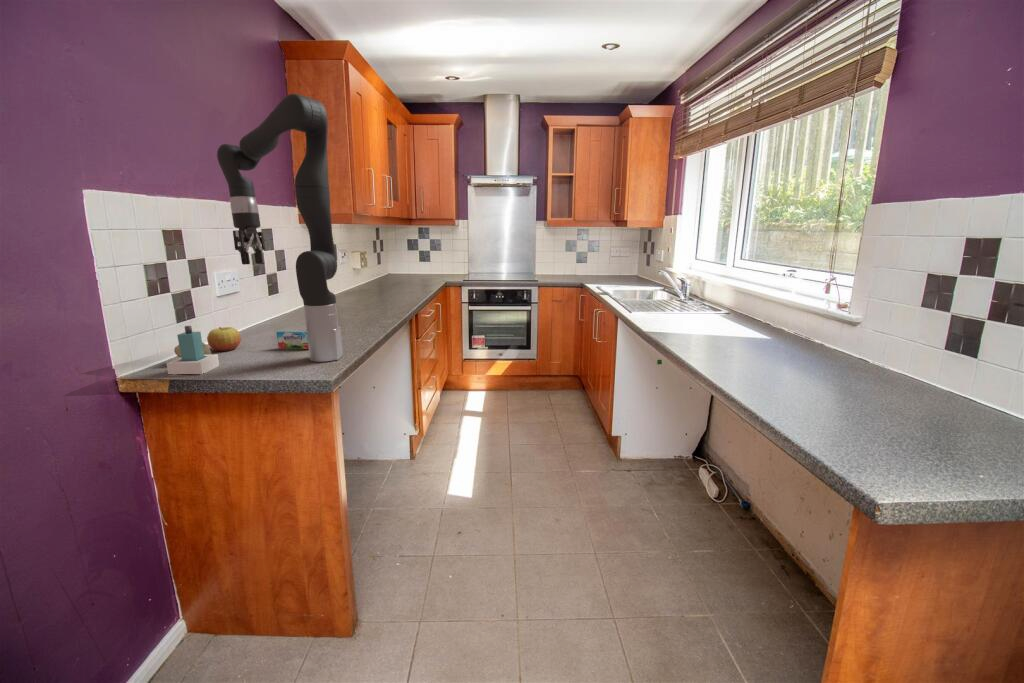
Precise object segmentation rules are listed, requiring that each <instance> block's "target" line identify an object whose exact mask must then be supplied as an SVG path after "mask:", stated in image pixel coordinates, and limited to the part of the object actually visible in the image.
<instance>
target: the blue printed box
mask: <svg viewBox="0 0 1024 683" xmlns="http://www.w3.org/2000/svg"><path fill="white" fill-rule="evenodd" d="M276 339H277V348H278V350H288V349H309V348H308V339H307V330H305V331H304V330H301V331H300V330H278V331H276Z"/></svg>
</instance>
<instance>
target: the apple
mask: <svg viewBox="0 0 1024 683" xmlns="http://www.w3.org/2000/svg"><path fill="white" fill-rule="evenodd" d="M206 340H207V341H206V342H207V344H208V347H209V348H211V349H212V350H214V351H216V352H227V351H228V350H229V351H232V350H235V349H237V347H238V346H240V344H241V342H242V341H241V340H242V337H241V333H240V332H239V331H238V329H236V328H235V327H227V326H220V327H218V328H214V329H211V330H210V331H209V333H208V334H207V337H206ZM229 351H228V352H229Z"/></svg>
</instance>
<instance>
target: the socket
mask: <svg viewBox="0 0 1024 683" xmlns="http://www.w3.org/2000/svg"><path fill="white" fill-rule="evenodd" d="M218 354H219V353H218ZM218 354H217V353H215V354H213V353H211V355H204V356H205V358H203V359H201V360H198V361H182V359H181V357H178V358H176V359H174V360H171V361H169V362H167V363H166V368H167V374H200V375H204V374H206V373H208V372H209V371H212V370H214V369H216V368H217V367H219V366H220V362H219V355H218ZM203 373H204V374H203Z"/></svg>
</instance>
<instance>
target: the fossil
mask: <svg viewBox="0 0 1024 683" xmlns="http://www.w3.org/2000/svg"><path fill="white" fill-rule="evenodd" d="M202 344H203V350H204V355H211V354H212V352H211V349H210V347H209V345H207V344H205V343H204V342H203V341H202ZM174 354H175V355H176V357H178V358H180V357H181V353H180V347H179V344H178V345H175V347H174Z"/></svg>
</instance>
